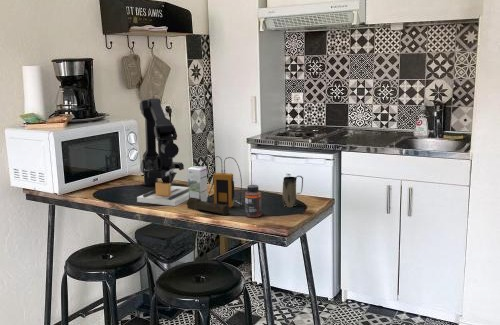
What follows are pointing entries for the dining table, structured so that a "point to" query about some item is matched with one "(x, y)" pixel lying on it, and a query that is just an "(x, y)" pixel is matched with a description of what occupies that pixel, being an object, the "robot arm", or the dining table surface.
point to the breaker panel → (174, 199)
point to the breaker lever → (163, 188)
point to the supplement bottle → (253, 201)
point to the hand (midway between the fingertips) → (167, 190)
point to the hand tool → (207, 206)
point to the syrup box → (197, 182)
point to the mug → (290, 191)
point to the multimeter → (224, 187)
